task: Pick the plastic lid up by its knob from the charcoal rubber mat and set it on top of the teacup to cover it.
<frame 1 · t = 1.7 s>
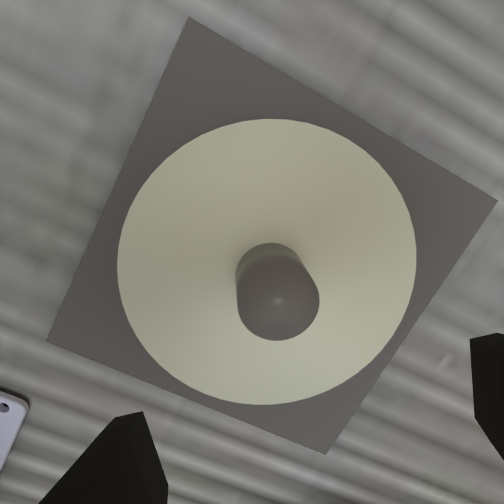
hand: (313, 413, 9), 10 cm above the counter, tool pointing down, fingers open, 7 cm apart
lid: (268, 271, 18), resting on mat
mat: (267, 269, 18), on the counter
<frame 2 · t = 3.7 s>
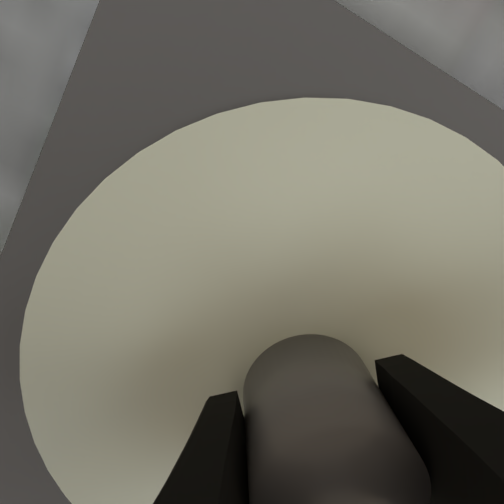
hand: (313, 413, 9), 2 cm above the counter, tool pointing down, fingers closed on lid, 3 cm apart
lid: (302, 377, 10), resting on mat, touching gripper
mat: (299, 368, 10), on the counter
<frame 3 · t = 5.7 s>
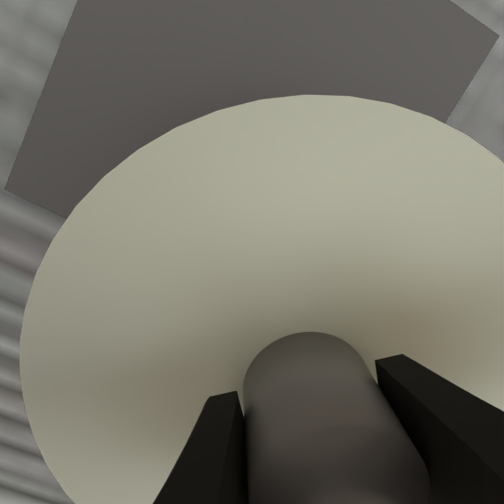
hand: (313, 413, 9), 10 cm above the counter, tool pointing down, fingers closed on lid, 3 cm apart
lid: (301, 374, 10), point 9 cm above the counter, touching gripper
mat: (247, 114, 17), on the counter
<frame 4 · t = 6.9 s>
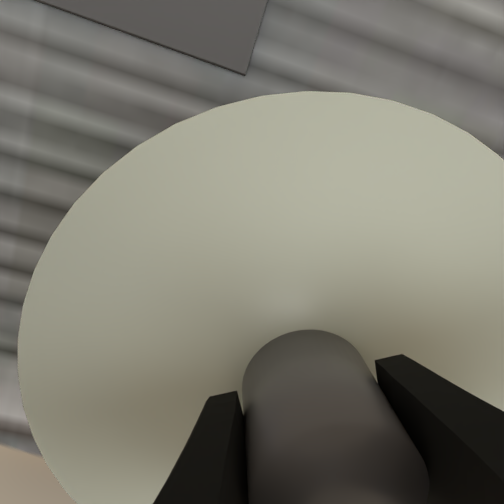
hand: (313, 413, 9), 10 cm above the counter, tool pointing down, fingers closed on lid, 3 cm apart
lid: (300, 371, 10), point 9 cm above the counter, touching gripper
when the fingers open (10 cm above the counter, at t = 7.7 s): lid drops 1 cm, resting on teacup.
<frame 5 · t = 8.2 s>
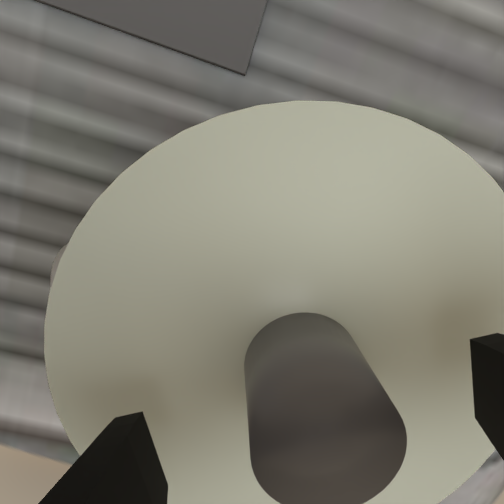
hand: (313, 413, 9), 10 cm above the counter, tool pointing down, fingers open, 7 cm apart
lid: (297, 353, 11), point 8 cm above the counter, touching teacup
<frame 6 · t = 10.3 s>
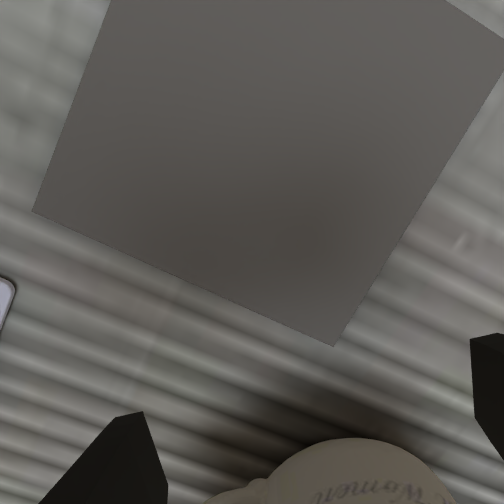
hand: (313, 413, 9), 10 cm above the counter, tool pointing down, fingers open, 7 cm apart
teacup: (312, 472, 22), on the counter, touching lid
mat: (268, 131, 17), on the counter
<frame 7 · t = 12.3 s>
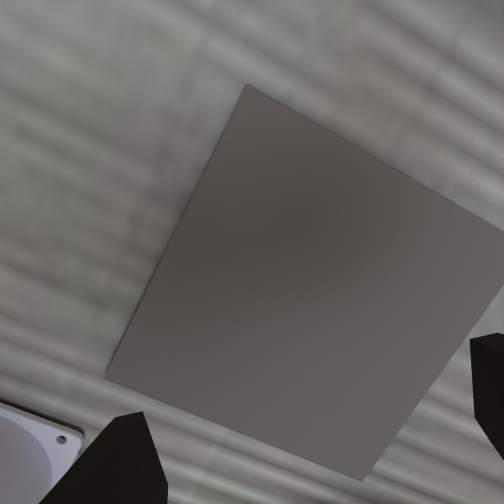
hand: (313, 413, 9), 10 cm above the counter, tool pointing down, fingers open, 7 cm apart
mat: (311, 310, 19), on the counter
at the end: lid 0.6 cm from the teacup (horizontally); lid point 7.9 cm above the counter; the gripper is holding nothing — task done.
